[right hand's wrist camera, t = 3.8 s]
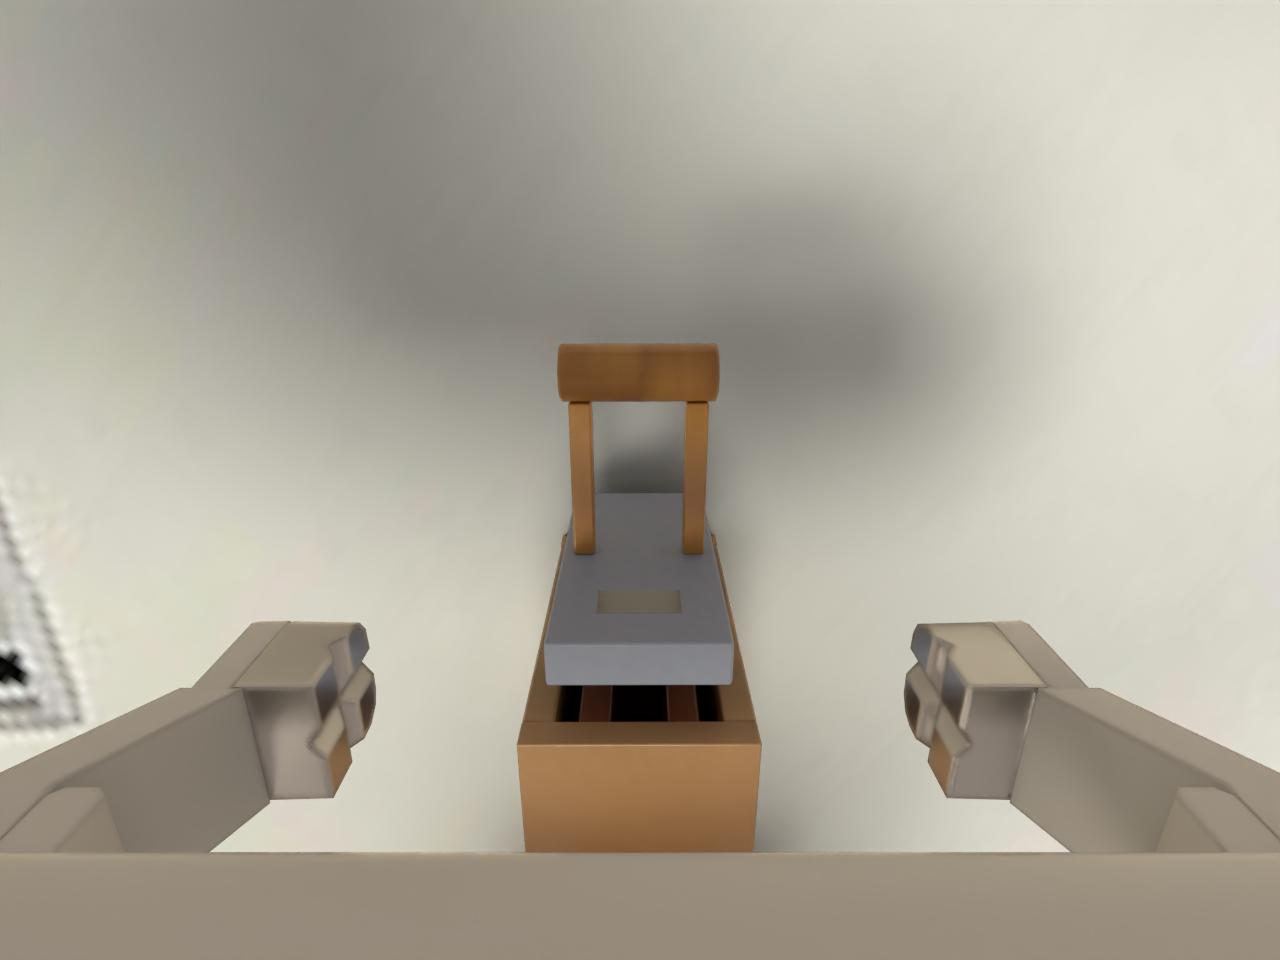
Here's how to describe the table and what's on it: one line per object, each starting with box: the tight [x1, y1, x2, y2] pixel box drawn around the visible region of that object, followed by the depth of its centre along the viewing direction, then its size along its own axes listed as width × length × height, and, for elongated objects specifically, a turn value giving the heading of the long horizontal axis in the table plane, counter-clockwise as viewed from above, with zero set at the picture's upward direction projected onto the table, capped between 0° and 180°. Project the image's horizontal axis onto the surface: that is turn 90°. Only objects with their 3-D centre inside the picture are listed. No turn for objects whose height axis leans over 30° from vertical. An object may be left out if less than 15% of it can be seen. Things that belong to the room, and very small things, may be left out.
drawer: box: [544, 344, 734, 722], centre depth 23 cm, size 26×4×9 cm, turn 0°
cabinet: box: [517, 535, 762, 853], centre depth 25 cm, size 21×6×11 cm, turn 0°
